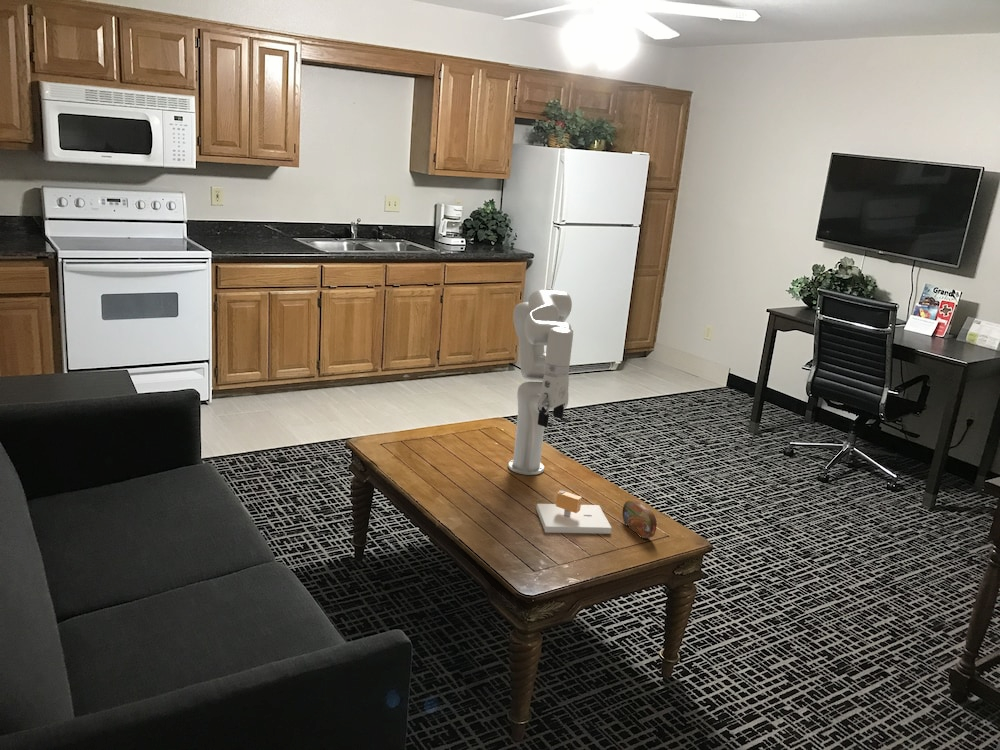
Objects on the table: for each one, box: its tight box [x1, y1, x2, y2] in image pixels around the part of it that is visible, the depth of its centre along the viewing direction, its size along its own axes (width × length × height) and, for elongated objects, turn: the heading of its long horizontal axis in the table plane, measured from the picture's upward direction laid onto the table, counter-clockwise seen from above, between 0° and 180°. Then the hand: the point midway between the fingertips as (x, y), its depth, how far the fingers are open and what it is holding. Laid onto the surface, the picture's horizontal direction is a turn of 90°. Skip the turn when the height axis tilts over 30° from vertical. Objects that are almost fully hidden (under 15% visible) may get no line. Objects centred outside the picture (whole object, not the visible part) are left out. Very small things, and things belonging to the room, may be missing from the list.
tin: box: [622, 500, 658, 539], centre depth 242 cm, size 15×3×8 cm, turn 23°
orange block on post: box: [555, 489, 583, 513], centre depth 243 cm, size 7×2×5 cm, turn 58°
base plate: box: [536, 503, 612, 535], centre depth 245 cm, size 15×20×4 cm
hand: (550, 421), depth 247 cm, fingers open, 9 cm apart
